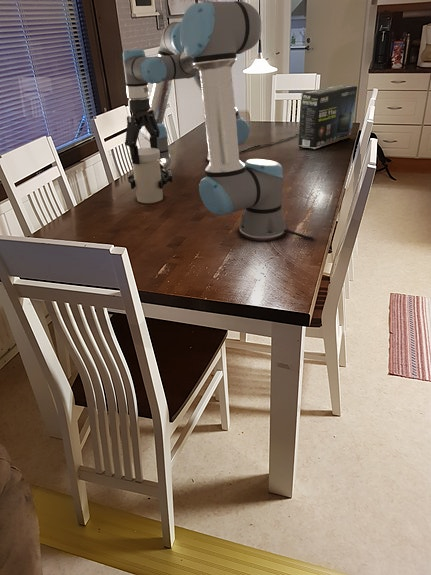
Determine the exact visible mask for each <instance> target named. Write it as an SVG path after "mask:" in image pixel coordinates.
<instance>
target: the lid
mask: <svg viewBox="0 0 431 575" xmlns="http://www.w3.org/2000/svg"><path fill="white" fill-rule="evenodd" d="M138 154H139V162H148V161H153V160H157V159H159V158H160V152H159V149H156V148H151V147H138ZM129 155H130V160H131V161H132V157H131V152H129Z"/></svg>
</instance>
